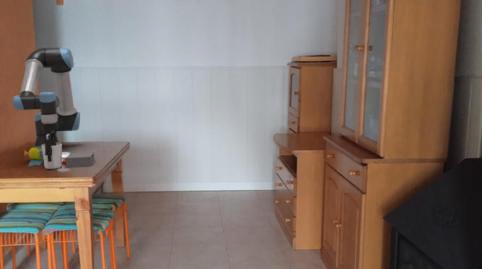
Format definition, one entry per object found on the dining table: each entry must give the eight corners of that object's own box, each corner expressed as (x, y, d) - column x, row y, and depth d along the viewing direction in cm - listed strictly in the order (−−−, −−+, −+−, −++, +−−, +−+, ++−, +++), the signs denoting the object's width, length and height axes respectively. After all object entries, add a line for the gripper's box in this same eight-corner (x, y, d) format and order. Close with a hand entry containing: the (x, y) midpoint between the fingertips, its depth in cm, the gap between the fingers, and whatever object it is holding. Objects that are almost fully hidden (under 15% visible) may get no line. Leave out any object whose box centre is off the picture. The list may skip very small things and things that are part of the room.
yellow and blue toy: (27, 142, 259) (55, 141, 264) (28, 157, 261) (56, 155, 265) (19, 151, 233) (51, 149, 238) (20, 167, 234) (52, 165, 239)
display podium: (71, 162, 244) (71, 153, 243) (94, 161, 245) (93, 152, 245) (66, 167, 232) (65, 157, 231) (90, 166, 234) (90, 156, 233)
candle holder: (51, 170, 226) (49, 146, 224) (39, 167, 231) (37, 145, 229) (67, 166, 234) (65, 143, 232) (55, 164, 240) (54, 142, 238)
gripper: (51, 125, 219) (55, 170, 223) (62, 119, 240) (65, 160, 244) (35, 125, 218) (39, 170, 222) (47, 120, 239) (51, 161, 243)
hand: (53, 165), depth 233 cm, fingers closed on candle holder, 9 cm apart
